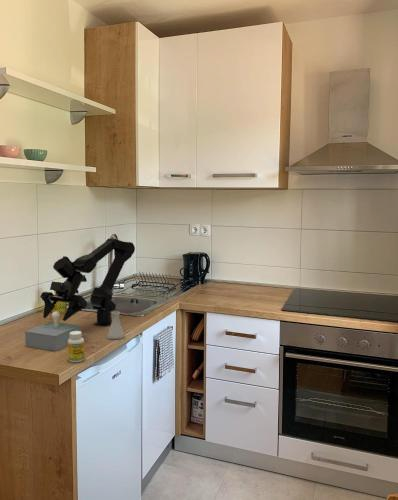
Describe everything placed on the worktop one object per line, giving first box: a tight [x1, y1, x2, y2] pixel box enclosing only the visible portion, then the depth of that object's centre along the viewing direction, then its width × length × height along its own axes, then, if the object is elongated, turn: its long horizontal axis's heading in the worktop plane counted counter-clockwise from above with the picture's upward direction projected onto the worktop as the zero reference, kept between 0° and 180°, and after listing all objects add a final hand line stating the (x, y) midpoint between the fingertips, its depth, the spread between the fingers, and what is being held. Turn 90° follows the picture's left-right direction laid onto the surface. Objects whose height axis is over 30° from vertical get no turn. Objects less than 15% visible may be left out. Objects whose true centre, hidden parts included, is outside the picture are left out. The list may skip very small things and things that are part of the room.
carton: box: [24, 325, 81, 352], centre depth 171 cm, size 14×14×6 cm
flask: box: [106, 311, 126, 341], centre depth 178 cm, size 7×7×10 cm
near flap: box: [39, 310, 81, 332], centre depth 174 cm, size 7×14×7 cm, turn 67°
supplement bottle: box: [67, 330, 86, 363], centre depth 154 cm, size 5×5×10 cm
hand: (53, 319), depth 171 cm, fingers open, 9 cm apart
